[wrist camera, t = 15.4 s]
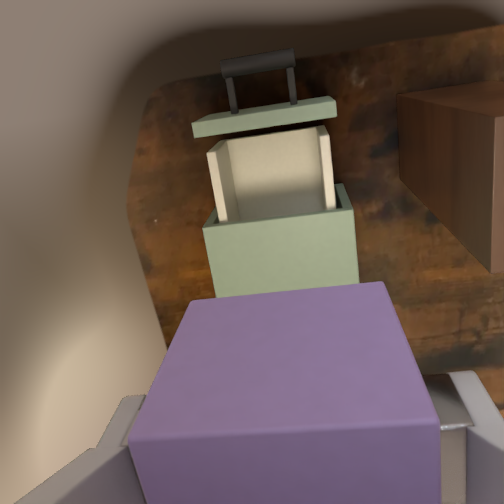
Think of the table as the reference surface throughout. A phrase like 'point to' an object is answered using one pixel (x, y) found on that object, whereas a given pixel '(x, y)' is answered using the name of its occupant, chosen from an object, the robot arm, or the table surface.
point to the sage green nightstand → (283, 251)
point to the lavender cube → (289, 405)
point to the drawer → (269, 149)
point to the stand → (458, 161)
